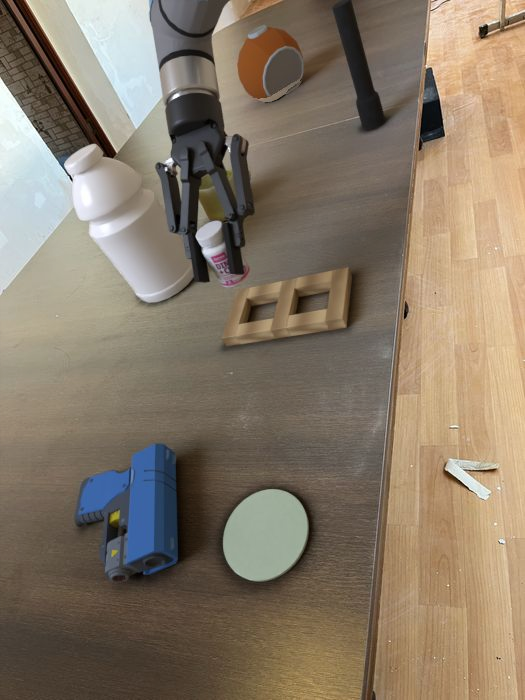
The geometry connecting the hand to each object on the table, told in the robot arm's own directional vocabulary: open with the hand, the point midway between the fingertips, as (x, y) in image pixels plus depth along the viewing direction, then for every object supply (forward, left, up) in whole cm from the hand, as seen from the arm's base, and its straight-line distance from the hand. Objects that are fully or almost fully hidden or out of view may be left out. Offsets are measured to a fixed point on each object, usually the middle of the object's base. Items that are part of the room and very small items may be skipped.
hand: (219, 277), depth 66 cm
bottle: (+25, -22, -14) cm, 36 cm away
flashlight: (-15, -62, -14) cm, 65 cm away
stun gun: (+12, +28, -14) cm, 34 cm away
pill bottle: (0, -4, -3) cm, 5 cm away
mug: (+15, -43, -14) cm, 48 cm away
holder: (-4, -6, -14) cm, 15 cm away
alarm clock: (+15, -104, -14) cm, 106 cm away
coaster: (-7, +29, -14) cm, 33 cm away
